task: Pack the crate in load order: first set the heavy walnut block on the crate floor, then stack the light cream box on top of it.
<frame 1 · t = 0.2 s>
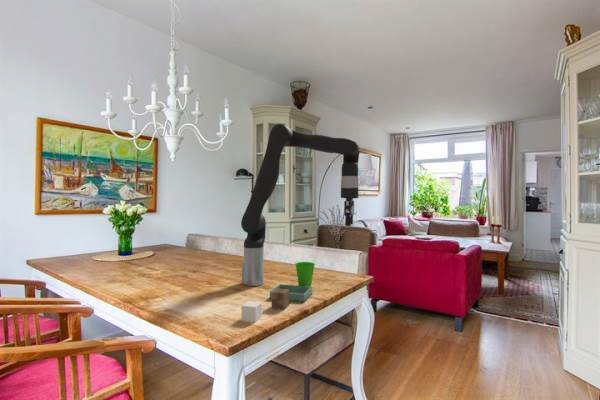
hand: (349, 225, 137), 29 cm above the table, fingers open, 8 cm apart
cup: (304, 288, 143), on the table
cream box: (251, 319, 107), on the table
walnut block: (280, 306, 119), on the table
crate: (291, 296, 132), on the table
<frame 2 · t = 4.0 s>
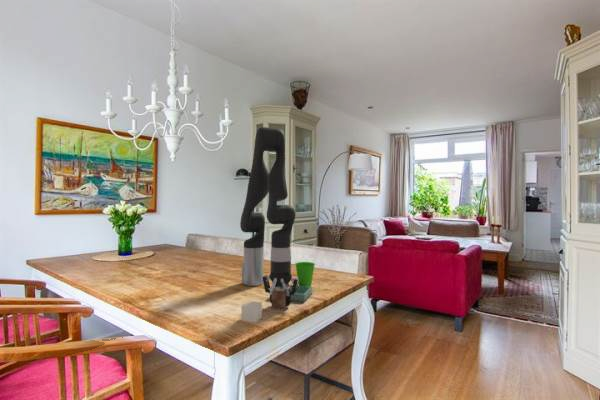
hand: (280, 304, 119), 1 cm above the table, fingers closed on walnut block, 5 cm apart
walnut block: (280, 306, 119), on the table, touching gripper
everything else where it was.
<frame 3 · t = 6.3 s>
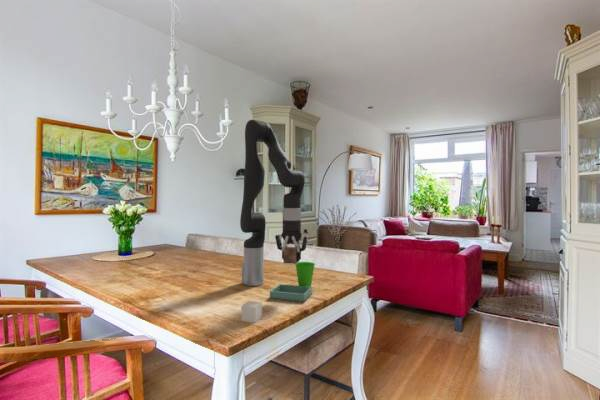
hand: (291, 260, 131), 15 cm above the table, fingers closed on walnut block, 5 cm apart
walnut block: (291, 262, 132), point 14 cm above the table, touching gripper
everything else where it was.
when the fingers open (3 cm above the table, at t = 8.7 s): walnut block drops 2 cm, resting on crate.
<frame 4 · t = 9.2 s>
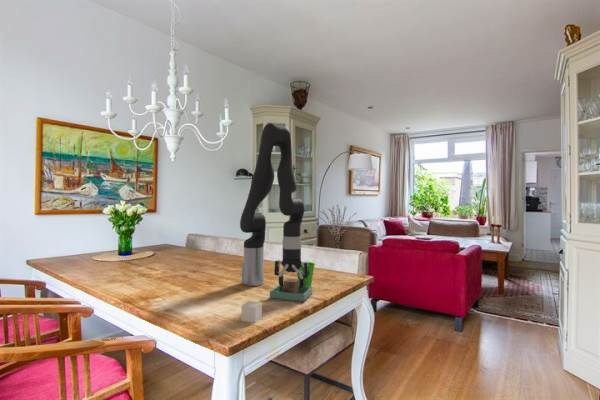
hand: (291, 286, 131), 4 cm above the table, fingers open, 8 cm apart
walnut block: (291, 294, 132), point 1 cm above the table, touching crate
everything else where it was.
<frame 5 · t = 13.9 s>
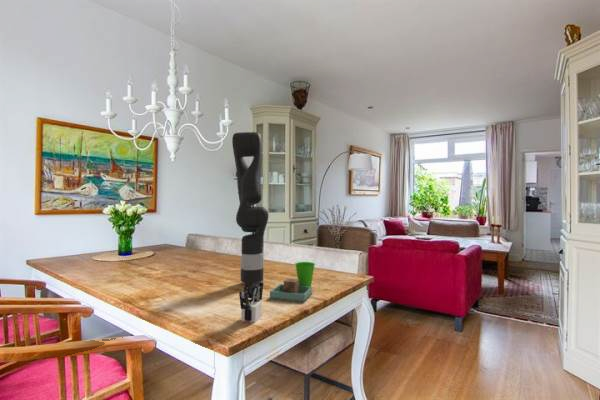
hand: (251, 317, 107), 0 cm above the table, fingers closed on cream box, 5 cm apart
cream box: (251, 318, 107), on the table, touching gripper
everything else where it was.
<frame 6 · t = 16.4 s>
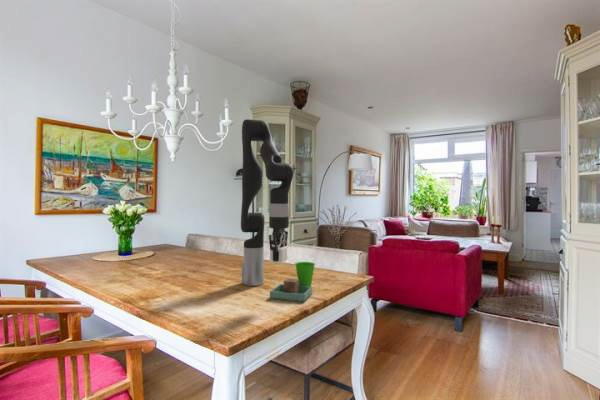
hand: (278, 259, 123), 17 cm above the table, fingers closed on cream box, 5 cm apart
cream box: (278, 260, 123), point 16 cm above the table, touching gripper
everything else where it was.
when the fingers open (8 cm above the table, at t = 19.1 s): cream box drops 1 cm, resting on walnut block.
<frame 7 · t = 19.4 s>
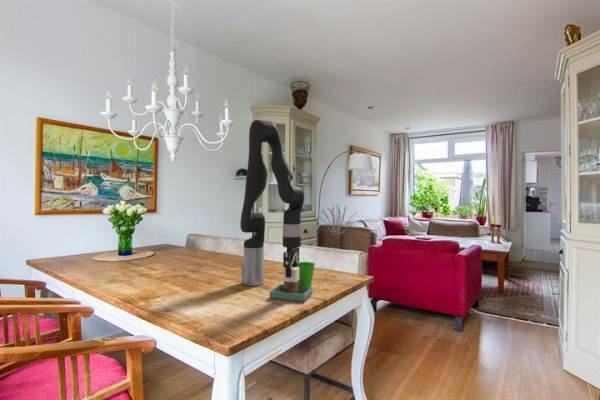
hand: (291, 275, 131), 9 cm above the table, fingers open, 7 cm apart
cream box: (291, 280, 131), point 7 cm above the table, touching walnut block
walnut block: (291, 294, 132), point 1 cm above the table, touching crate, cream box
everything else where it was.
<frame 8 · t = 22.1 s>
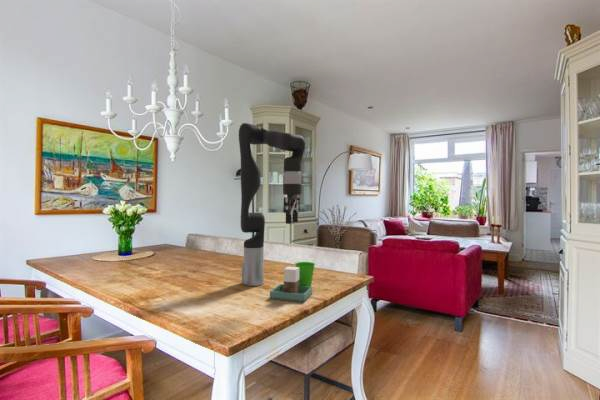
hand: (291, 222, 131), 30 cm above the table, fingers open, 8 cm apart
nothing on the table moved.
at the end: walnut block inside the target area on the crate (0.1 cm from its centre), point 0.6 cm above the crate's base; cream box 0.2 cm off-centre on the walnut block, point 6.0 cm above the walnut block's base; cream box tilted 0° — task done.
